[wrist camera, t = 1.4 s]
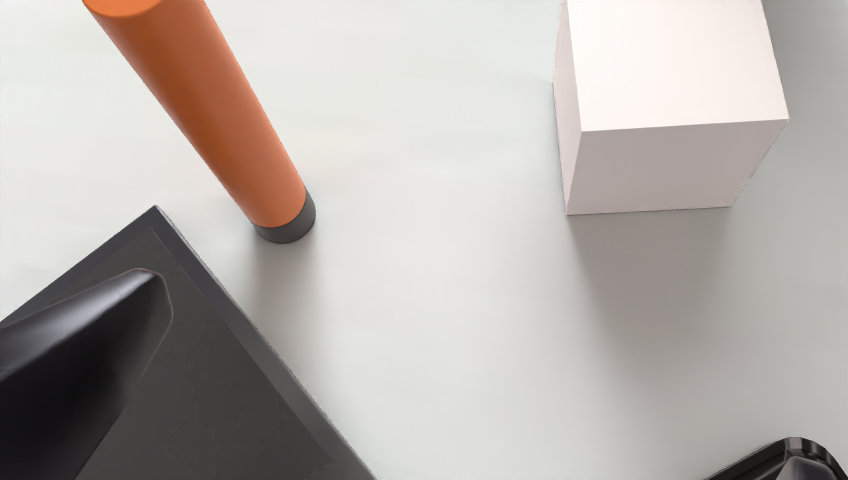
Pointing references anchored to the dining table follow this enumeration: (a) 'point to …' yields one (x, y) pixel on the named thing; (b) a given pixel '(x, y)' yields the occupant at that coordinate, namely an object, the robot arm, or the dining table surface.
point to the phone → (778, 461)
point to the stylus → (211, 106)
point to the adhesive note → (663, 102)
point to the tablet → (202, 380)
